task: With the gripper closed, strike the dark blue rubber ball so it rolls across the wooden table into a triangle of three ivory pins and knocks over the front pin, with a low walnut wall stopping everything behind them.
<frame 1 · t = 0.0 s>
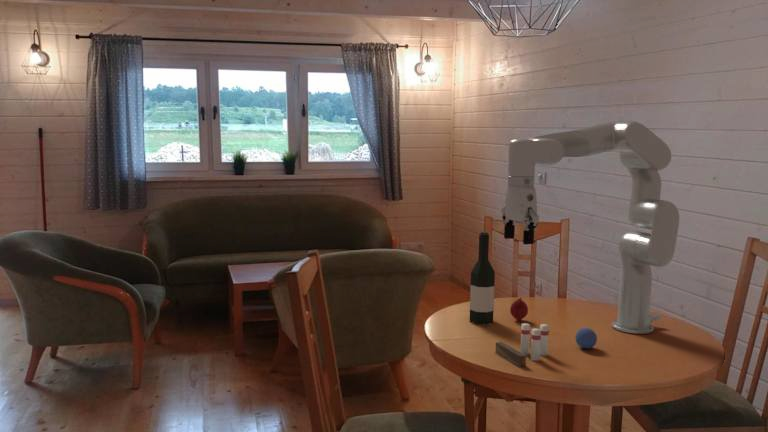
hand: (518, 241, 188), 31 cm above the table, tool pointing down, fingers open, 9 cm apart
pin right: (524, 353, 185), on the table
onion: (518, 321, 217), on the table
pin front: (543, 354, 185), on the table
wine bottle: (481, 321, 216), on the table
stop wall: (510, 359, 180), on the table
ball: (586, 338, 190), on the table
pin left: (535, 359, 181), on the table
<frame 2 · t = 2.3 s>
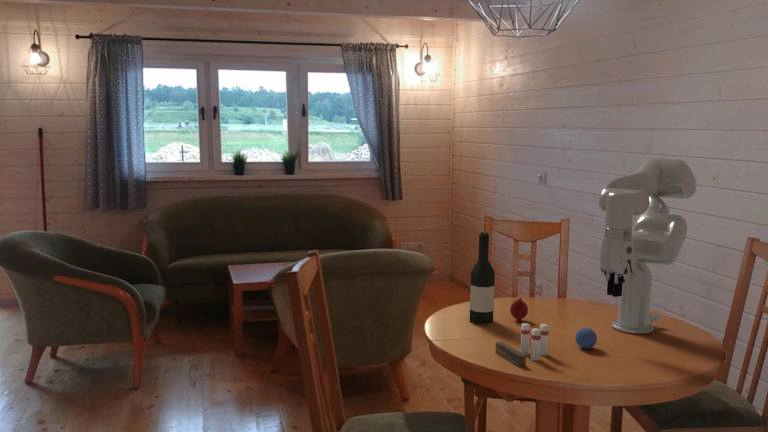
hand: (614, 295, 192), 15 cm above the table, tool pointing down, fingers closed
nothing on the table moved.
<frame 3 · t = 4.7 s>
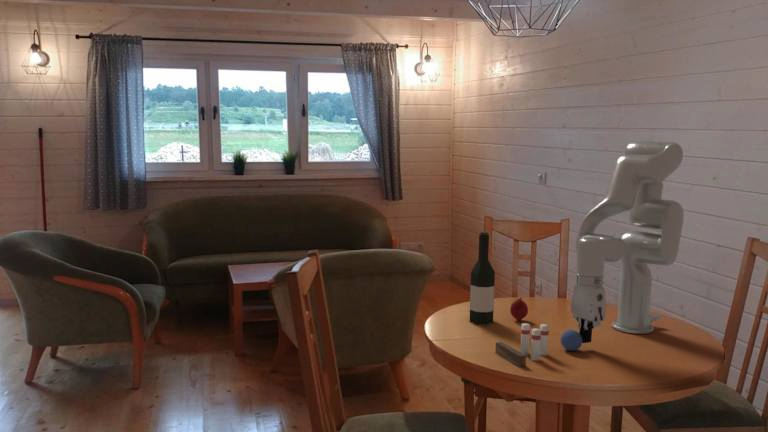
hand: (585, 341, 189), 2 cm above the table, tool pointing down, fingers closed
ball: (571, 340, 188), on the table
everything else where it was.
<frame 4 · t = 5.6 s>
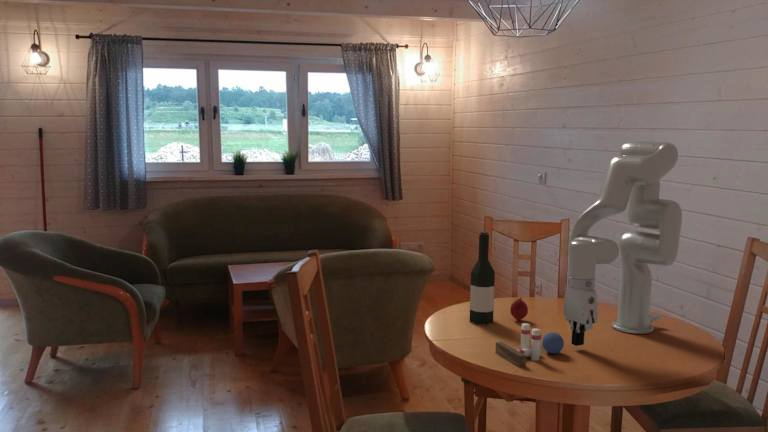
hand: (577, 344, 189), 2 cm above the table, tool pointing down, fingers closed
pin front: (539, 350, 184), point 1 cm above the table, tilted 90°
ball: (552, 343, 185), on the table
everything else where it was.
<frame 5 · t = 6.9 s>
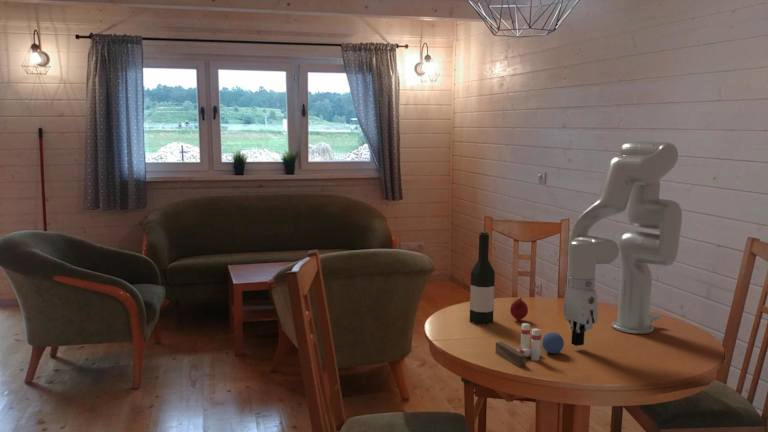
hand: (577, 344, 189), 2 cm above the table, tool pointing down, fingers closed
nothing on the table moved.
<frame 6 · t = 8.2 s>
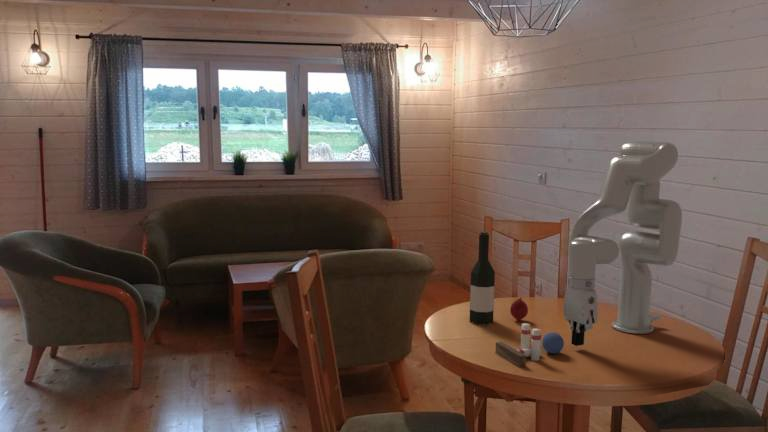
hand: (577, 344, 189), 2 cm above the table, tool pointing down, fingers closed
nothing on the table moved.
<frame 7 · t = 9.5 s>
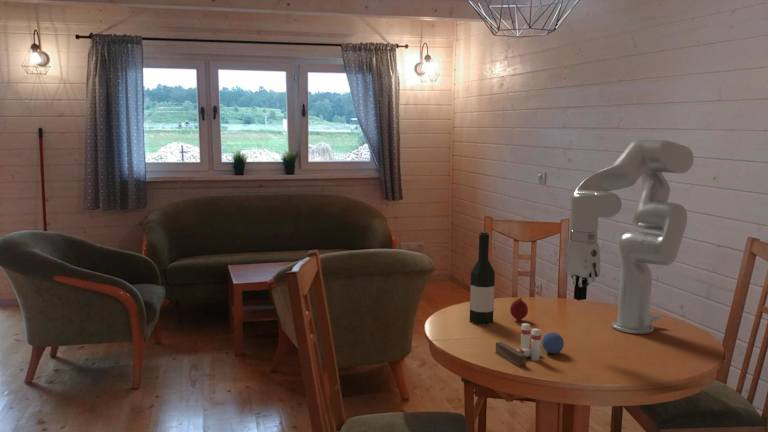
hand: (580, 299, 187), 15 cm above the table, tool pointing down, fingers closed
nothing on the table moved.
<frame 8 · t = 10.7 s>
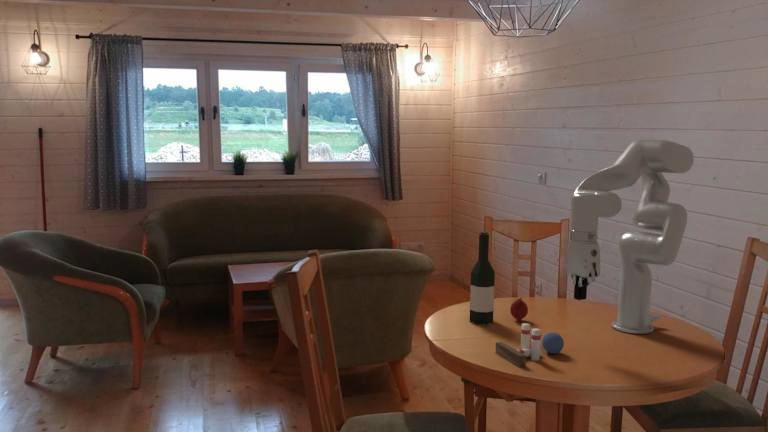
hand: (580, 298, 187), 15 cm above the table, tool pointing down, fingers closed
nothing on the table moved.
at the end: pin front tilted 90°; pin front never touched the robot; ball moved 11.8 cm from its start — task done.
